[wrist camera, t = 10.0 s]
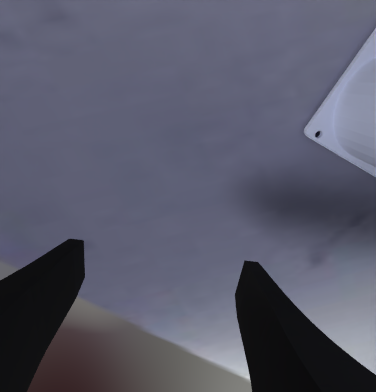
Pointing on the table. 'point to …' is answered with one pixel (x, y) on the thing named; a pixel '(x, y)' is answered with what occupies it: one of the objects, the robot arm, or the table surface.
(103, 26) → the table surface
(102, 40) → the table surface
